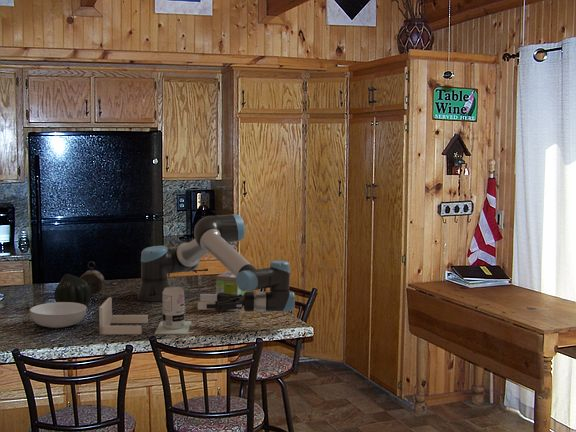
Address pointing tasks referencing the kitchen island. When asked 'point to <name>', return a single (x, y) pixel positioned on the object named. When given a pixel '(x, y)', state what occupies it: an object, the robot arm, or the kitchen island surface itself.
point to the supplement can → (173, 307)
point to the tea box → (227, 285)
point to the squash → (72, 290)
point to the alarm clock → (94, 280)
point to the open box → (118, 321)
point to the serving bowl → (58, 314)
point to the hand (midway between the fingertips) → (198, 301)
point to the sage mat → (173, 331)
